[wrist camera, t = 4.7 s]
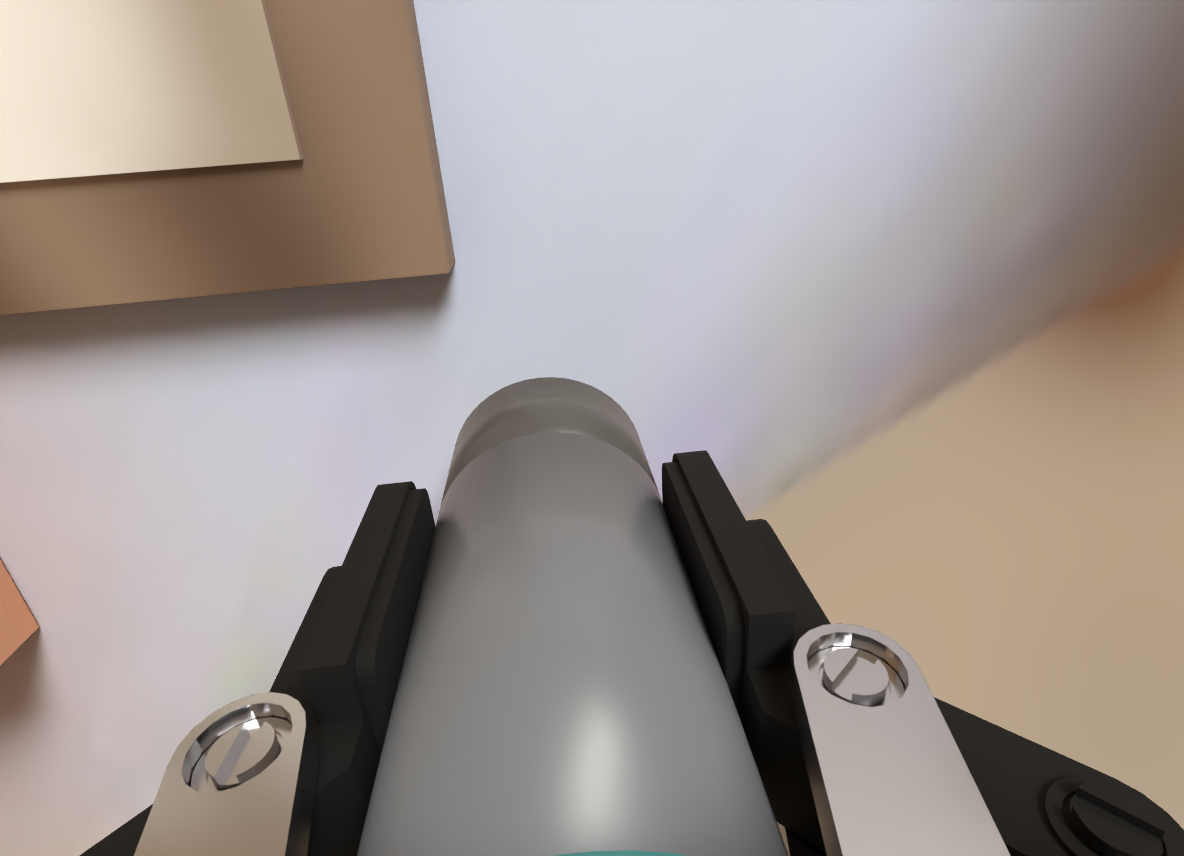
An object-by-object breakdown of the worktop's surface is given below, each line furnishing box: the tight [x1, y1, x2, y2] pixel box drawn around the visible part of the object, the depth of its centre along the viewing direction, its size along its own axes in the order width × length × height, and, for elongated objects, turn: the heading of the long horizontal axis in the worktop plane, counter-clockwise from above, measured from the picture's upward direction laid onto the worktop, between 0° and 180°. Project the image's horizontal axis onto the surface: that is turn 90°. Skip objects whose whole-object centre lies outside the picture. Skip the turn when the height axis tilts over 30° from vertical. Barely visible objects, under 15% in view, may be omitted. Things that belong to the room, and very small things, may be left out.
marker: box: [357, 377, 789, 856], centre depth 9 cm, size 4×4×10 cm
